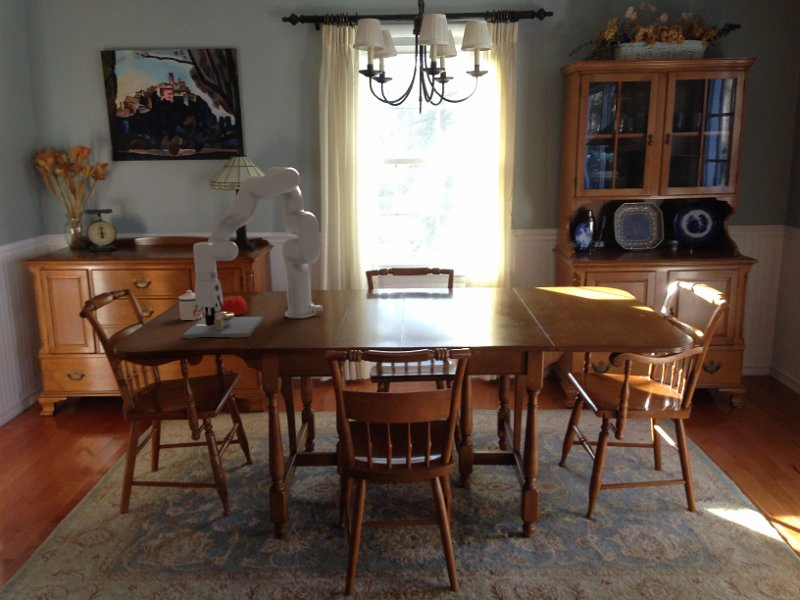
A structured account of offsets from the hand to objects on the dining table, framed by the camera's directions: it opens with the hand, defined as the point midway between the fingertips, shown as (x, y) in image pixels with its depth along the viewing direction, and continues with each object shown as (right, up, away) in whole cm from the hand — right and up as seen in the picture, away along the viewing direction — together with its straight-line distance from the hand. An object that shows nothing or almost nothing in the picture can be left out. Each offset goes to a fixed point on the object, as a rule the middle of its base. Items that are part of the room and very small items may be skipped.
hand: (210, 324), depth 250 cm
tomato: (+2, +3, +29) cm, 29 cm away
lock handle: (+3, 0, +4) cm, 5 cm away
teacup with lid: (-15, +2, +27) cm, 30 cm away
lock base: (+3, -2, +8) cm, 8 cm away
